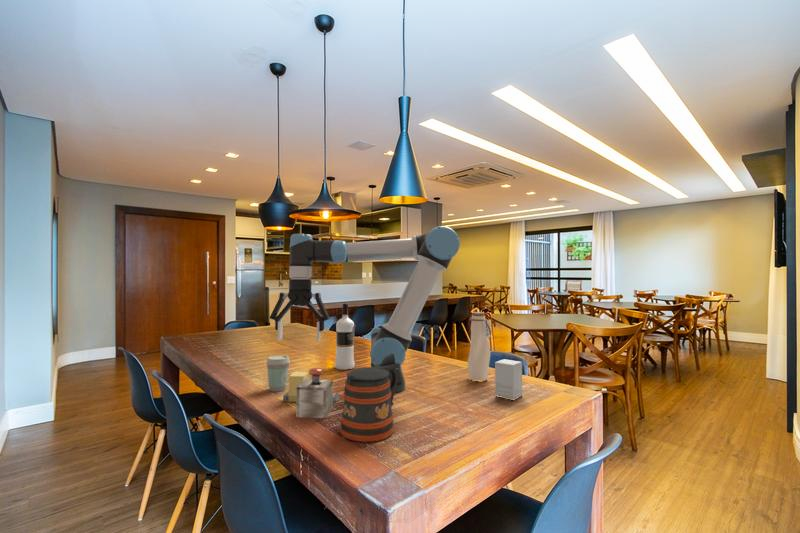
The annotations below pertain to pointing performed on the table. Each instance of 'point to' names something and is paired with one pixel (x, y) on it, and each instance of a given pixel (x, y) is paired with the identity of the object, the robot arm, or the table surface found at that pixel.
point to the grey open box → (314, 399)
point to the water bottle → (479, 347)
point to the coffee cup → (277, 372)
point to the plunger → (315, 375)
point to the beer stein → (369, 402)
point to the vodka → (344, 342)
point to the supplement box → (508, 378)
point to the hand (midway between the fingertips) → (299, 340)
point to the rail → (335, 397)
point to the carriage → (296, 384)
